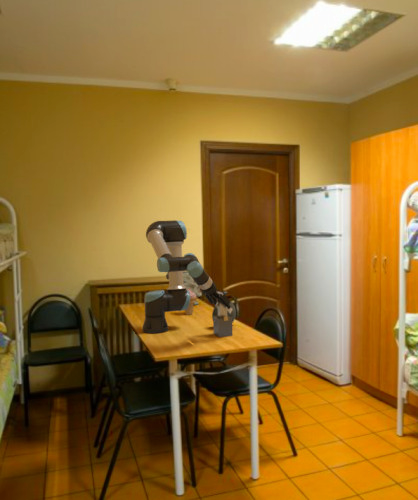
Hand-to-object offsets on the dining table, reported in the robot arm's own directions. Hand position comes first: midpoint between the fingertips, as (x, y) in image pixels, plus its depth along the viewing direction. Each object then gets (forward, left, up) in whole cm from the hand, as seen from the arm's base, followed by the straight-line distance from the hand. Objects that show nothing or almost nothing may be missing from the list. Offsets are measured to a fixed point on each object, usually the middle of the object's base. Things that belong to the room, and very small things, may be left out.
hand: (226, 310), depth 248 cm
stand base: (-3, -2, -14) cm, 14 cm away
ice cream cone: (-2, +65, -14) cm, 67 cm away
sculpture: (+5, +102, -14) cm, 103 cm away
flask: (+5, +16, -14) cm, 22 cm away
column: (-3, -2, -13) cm, 13 cm away
